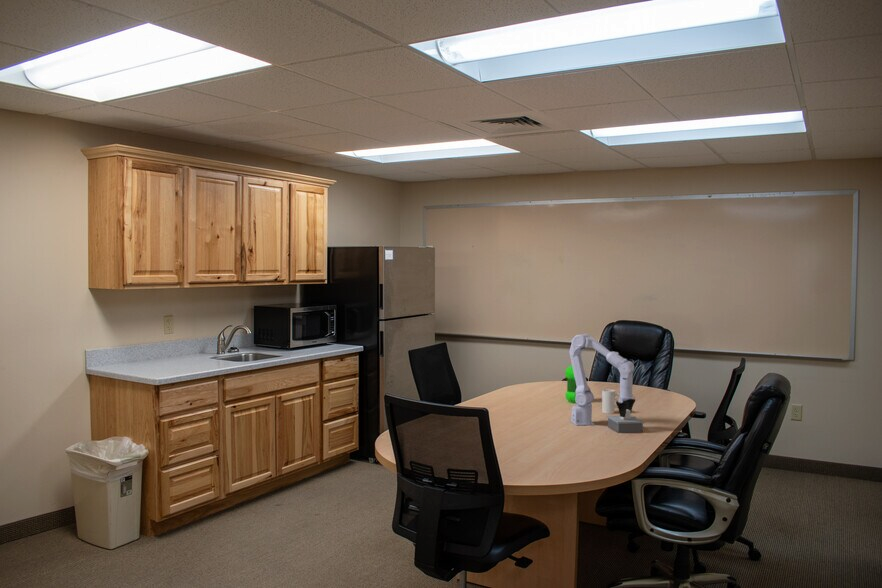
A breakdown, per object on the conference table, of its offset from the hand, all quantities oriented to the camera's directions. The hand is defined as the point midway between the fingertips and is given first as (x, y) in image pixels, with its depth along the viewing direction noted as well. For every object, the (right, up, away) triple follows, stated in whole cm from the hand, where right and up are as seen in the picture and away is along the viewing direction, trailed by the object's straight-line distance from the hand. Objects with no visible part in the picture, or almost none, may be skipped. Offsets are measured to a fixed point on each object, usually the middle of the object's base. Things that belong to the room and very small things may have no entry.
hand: (625, 415), depth 310 cm
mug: (+3, -6, +37) cm, 38 cm away
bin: (0, -7, 0) cm, 7 cm away
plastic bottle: (-11, -5, +64) cm, 65 cm away
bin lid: (0, -2, 0) cm, 2 cm away
